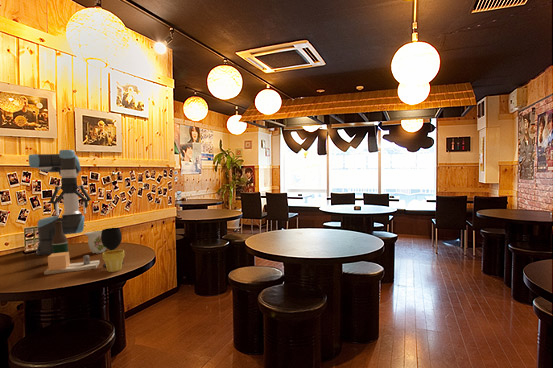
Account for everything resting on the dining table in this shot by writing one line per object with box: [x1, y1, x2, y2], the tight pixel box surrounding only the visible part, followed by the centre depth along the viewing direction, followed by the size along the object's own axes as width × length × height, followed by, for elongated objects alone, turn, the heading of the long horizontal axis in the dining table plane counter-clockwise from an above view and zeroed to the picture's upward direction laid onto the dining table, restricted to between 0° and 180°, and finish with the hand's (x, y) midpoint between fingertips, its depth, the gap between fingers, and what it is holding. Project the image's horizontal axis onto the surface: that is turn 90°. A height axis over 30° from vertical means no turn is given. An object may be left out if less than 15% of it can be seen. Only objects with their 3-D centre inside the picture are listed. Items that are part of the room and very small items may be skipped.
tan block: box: [47, 251, 71, 270], centre depth 182 cm, size 8×8×7 cm
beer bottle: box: [52, 221, 69, 253], centre depth 200 cm, size 8×8×24 cm
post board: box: [43, 254, 101, 276], centre depth 184 cm, size 12×24×6 cm, turn 109°
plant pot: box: [102, 249, 125, 273], centre depth 178 cm, size 10×10×10 cm
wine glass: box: [101, 227, 124, 268], centre depth 188 cm, size 10×10×20 cm
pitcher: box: [82, 230, 107, 254], centre depth 219 cm, size 11×18×14 cm, turn 137°
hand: (71, 214), depth 192 cm, fingers open, 13 cm apart
